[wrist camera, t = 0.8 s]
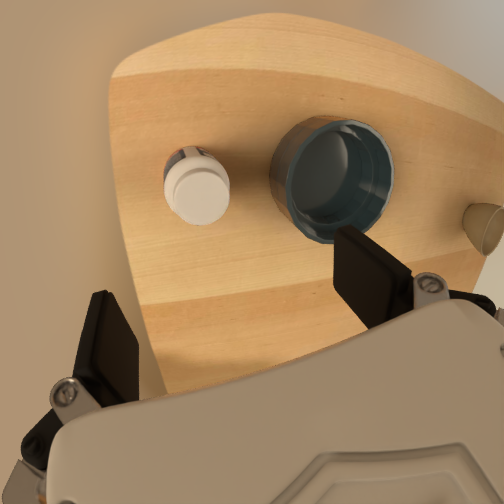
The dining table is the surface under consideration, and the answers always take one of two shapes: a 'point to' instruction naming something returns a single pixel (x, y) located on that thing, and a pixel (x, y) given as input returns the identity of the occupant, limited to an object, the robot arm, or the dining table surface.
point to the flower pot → (484, 226)
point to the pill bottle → (196, 186)
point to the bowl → (331, 176)
